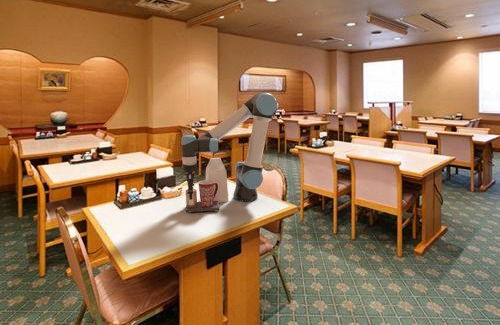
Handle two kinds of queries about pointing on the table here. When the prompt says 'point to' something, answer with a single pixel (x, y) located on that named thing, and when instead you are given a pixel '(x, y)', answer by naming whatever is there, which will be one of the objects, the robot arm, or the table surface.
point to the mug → (207, 192)
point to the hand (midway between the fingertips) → (191, 201)
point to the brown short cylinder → (193, 197)
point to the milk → (218, 178)
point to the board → (200, 208)
